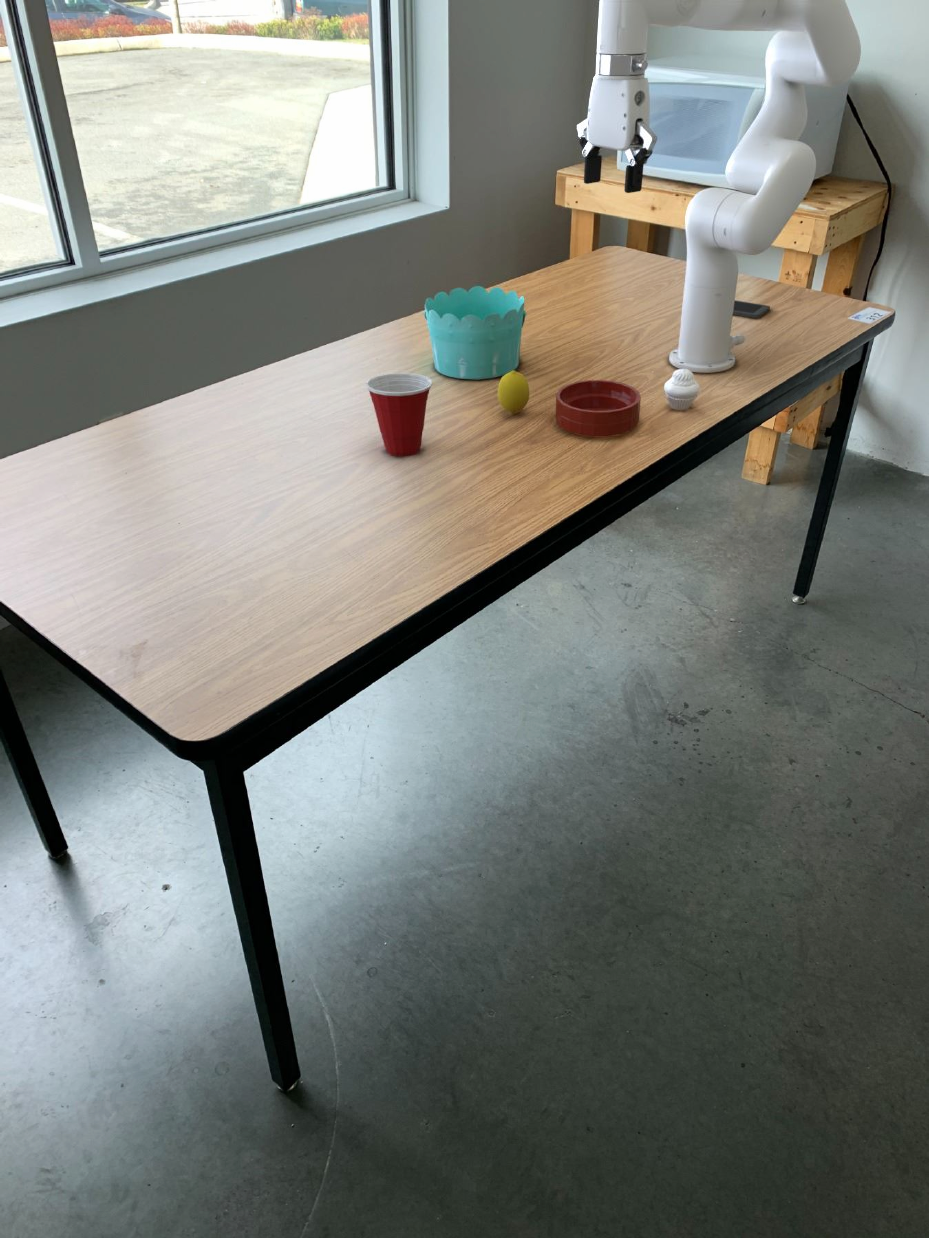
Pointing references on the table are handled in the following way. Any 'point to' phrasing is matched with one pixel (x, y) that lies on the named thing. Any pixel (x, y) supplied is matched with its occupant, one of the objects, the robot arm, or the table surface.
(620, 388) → the bowl
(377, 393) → the plastic cup
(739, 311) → the cell phone
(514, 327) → the basket
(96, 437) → the table surface
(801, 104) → the robot arm
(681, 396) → the muffin
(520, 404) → the lemon
